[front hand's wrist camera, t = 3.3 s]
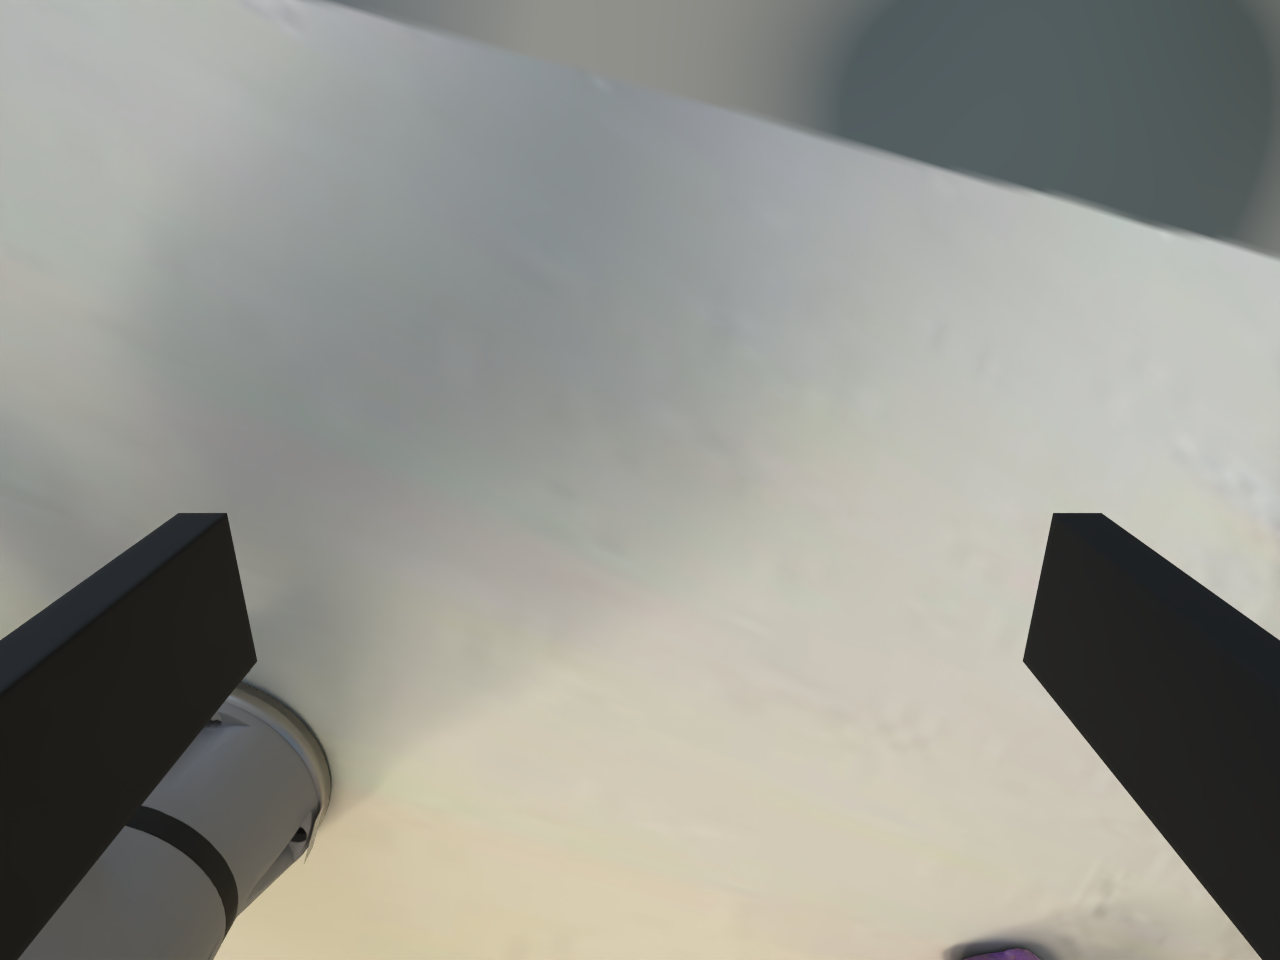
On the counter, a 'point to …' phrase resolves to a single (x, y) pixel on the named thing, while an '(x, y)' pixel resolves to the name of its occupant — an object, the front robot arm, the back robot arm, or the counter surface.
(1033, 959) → the figurine
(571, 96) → the counter surface
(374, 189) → the counter surface
